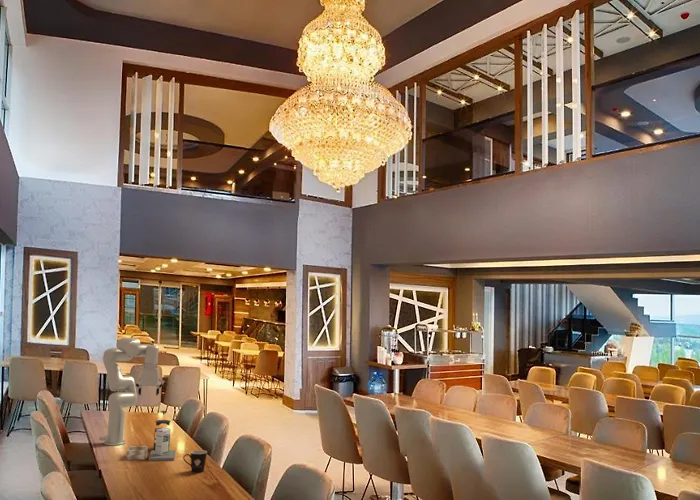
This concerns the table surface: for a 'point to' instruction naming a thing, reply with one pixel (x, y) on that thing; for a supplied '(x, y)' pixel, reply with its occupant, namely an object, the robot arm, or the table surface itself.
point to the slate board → (162, 458)
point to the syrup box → (162, 441)
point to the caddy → (137, 452)
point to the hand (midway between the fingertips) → (148, 395)
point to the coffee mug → (197, 460)
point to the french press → (162, 425)
